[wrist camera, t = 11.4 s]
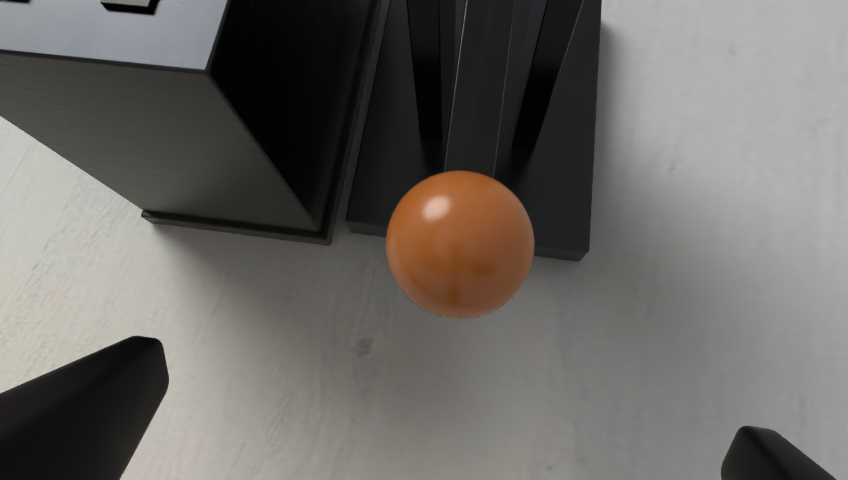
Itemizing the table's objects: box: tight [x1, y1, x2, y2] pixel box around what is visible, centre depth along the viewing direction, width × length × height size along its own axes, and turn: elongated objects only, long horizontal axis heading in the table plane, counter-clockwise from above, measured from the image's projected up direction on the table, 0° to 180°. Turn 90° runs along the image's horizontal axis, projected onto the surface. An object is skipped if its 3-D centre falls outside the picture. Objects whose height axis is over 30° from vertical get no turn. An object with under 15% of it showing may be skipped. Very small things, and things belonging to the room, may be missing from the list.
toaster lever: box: [386, 0, 535, 319], centre depth 12 cm, size 13×3×3 cm, turn 172°
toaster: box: [0, 0, 382, 245], centre depth 20 cm, size 14×8×12 cm, turn 172°
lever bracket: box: [345, 0, 602, 261], centre depth 18 cm, size 13×10×14 cm
